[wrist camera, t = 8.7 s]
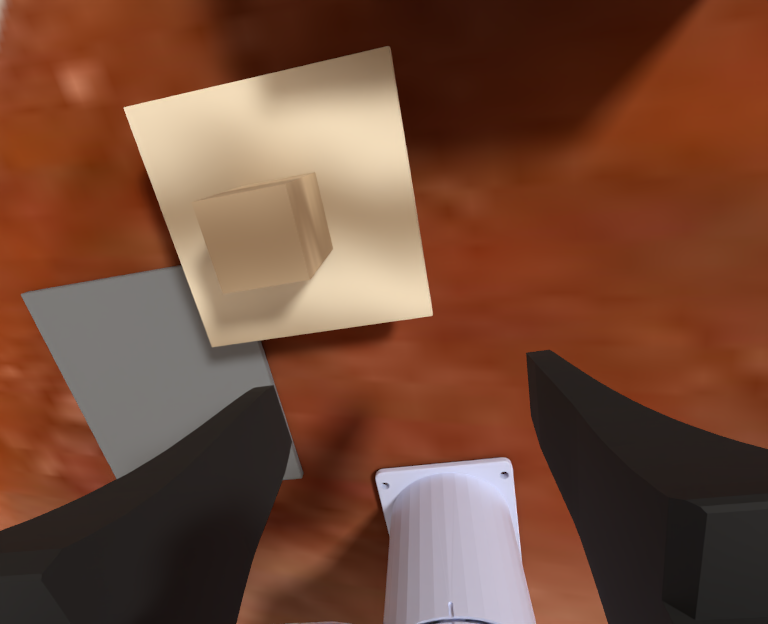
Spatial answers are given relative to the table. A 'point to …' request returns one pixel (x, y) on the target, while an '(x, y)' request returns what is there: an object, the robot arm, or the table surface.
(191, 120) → the lid
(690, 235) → the table surface
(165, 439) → the mat
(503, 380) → the table surface
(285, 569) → the table surface
